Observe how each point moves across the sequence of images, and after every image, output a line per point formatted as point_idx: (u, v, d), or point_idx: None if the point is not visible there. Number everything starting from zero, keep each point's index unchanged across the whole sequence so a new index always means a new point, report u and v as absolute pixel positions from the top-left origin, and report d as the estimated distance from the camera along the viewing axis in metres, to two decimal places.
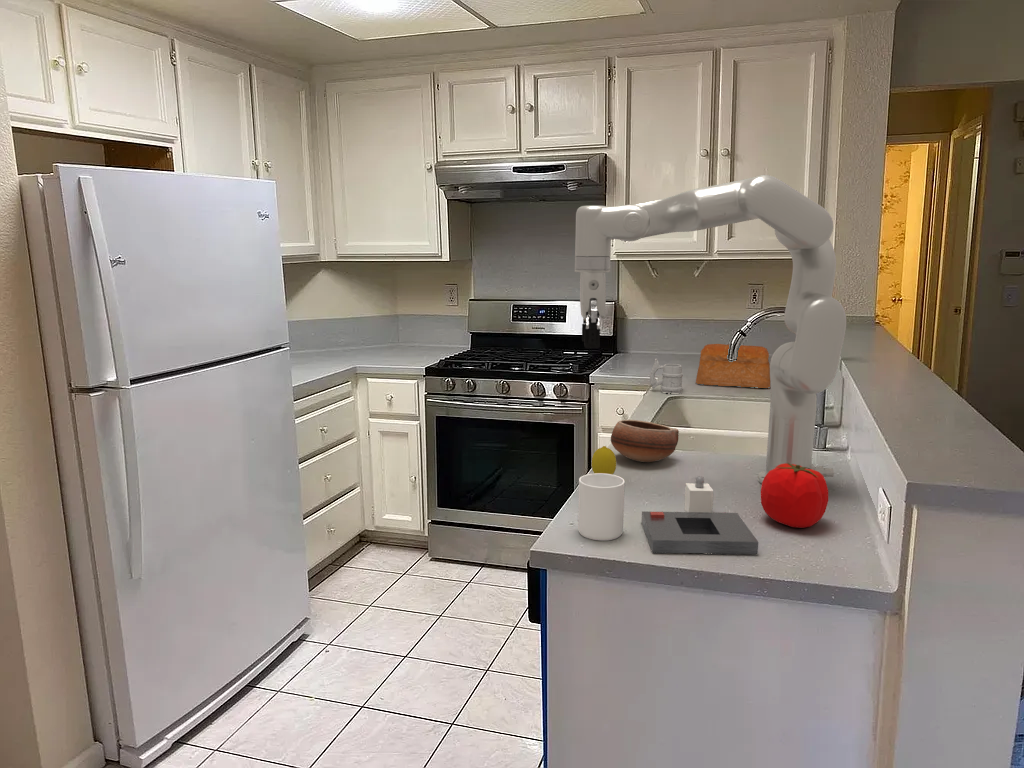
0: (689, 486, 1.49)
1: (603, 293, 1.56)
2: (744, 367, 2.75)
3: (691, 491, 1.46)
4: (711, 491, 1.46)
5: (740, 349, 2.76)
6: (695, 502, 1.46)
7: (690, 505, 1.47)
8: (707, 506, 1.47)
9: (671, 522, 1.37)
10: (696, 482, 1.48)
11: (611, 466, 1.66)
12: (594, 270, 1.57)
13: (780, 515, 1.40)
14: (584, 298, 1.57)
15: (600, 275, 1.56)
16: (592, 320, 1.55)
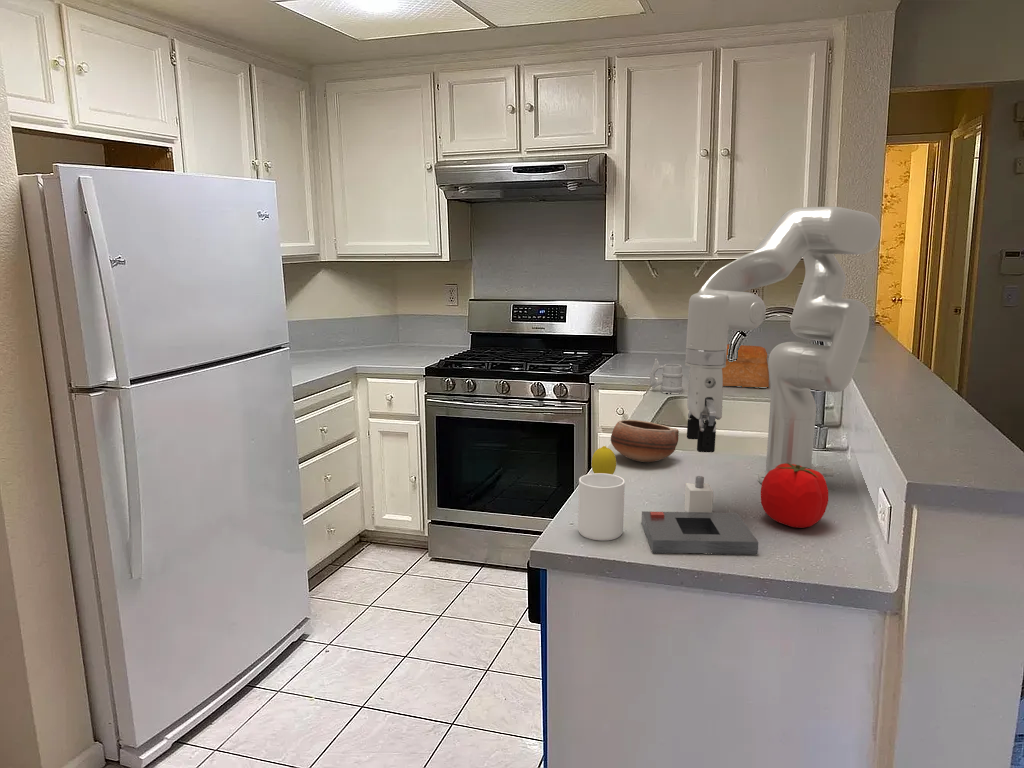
0: (689, 486, 1.49)
1: (720, 392, 1.39)
2: (742, 367, 2.75)
3: (691, 491, 1.46)
4: (711, 491, 1.46)
5: (739, 349, 2.76)
6: (695, 502, 1.46)
7: (690, 505, 1.47)
8: (707, 506, 1.47)
9: (671, 522, 1.37)
10: (696, 482, 1.48)
11: (611, 466, 1.66)
12: (710, 365, 1.40)
13: (780, 515, 1.40)
14: (699, 397, 1.40)
15: (717, 372, 1.39)
16: (709, 423, 1.38)
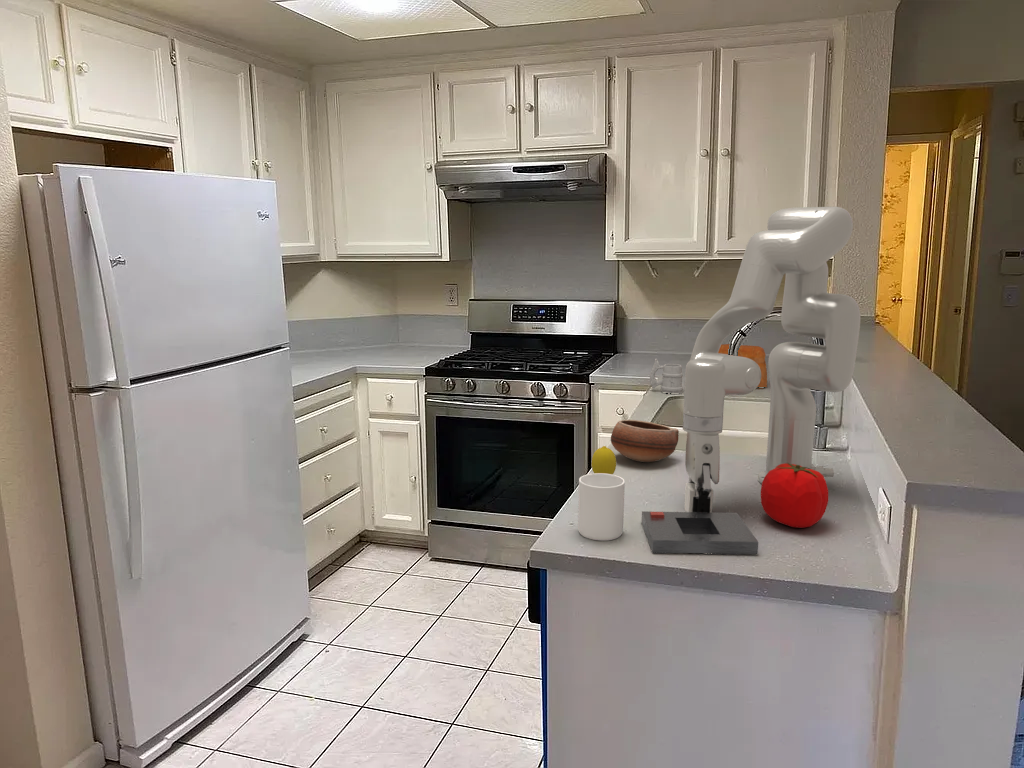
0: (689, 486, 1.48)
1: (717, 458, 1.42)
2: None
3: (691, 491, 1.46)
4: (711, 491, 1.46)
5: None
6: None
7: (690, 505, 1.47)
8: None
9: (671, 522, 1.37)
10: None
11: (611, 466, 1.66)
12: (707, 432, 1.42)
13: (780, 515, 1.40)
14: (696, 463, 1.42)
15: (714, 438, 1.42)
16: None
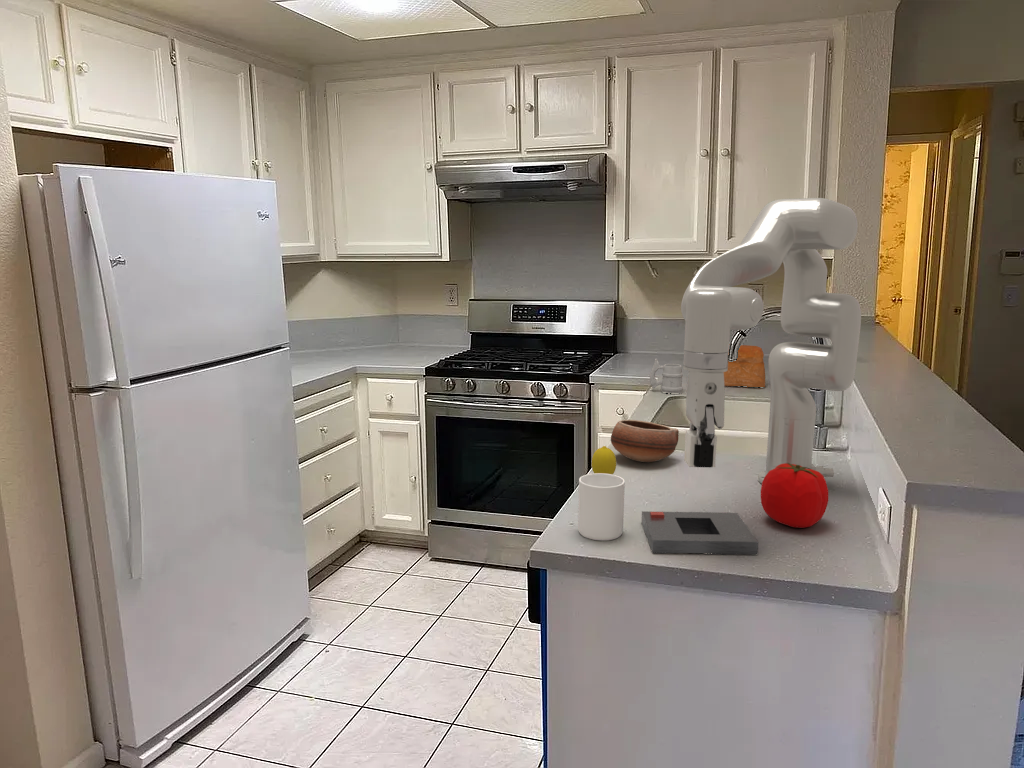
0: (690, 433, 1.33)
1: (722, 398, 1.27)
2: (739, 366, 2.76)
3: (692, 437, 1.31)
4: (714, 437, 1.31)
5: None
6: None
7: (691, 453, 1.31)
8: None
9: (671, 522, 1.37)
10: None
11: (611, 466, 1.66)
12: (710, 369, 1.27)
13: (780, 515, 1.40)
14: (698, 404, 1.27)
15: (719, 376, 1.26)
16: None
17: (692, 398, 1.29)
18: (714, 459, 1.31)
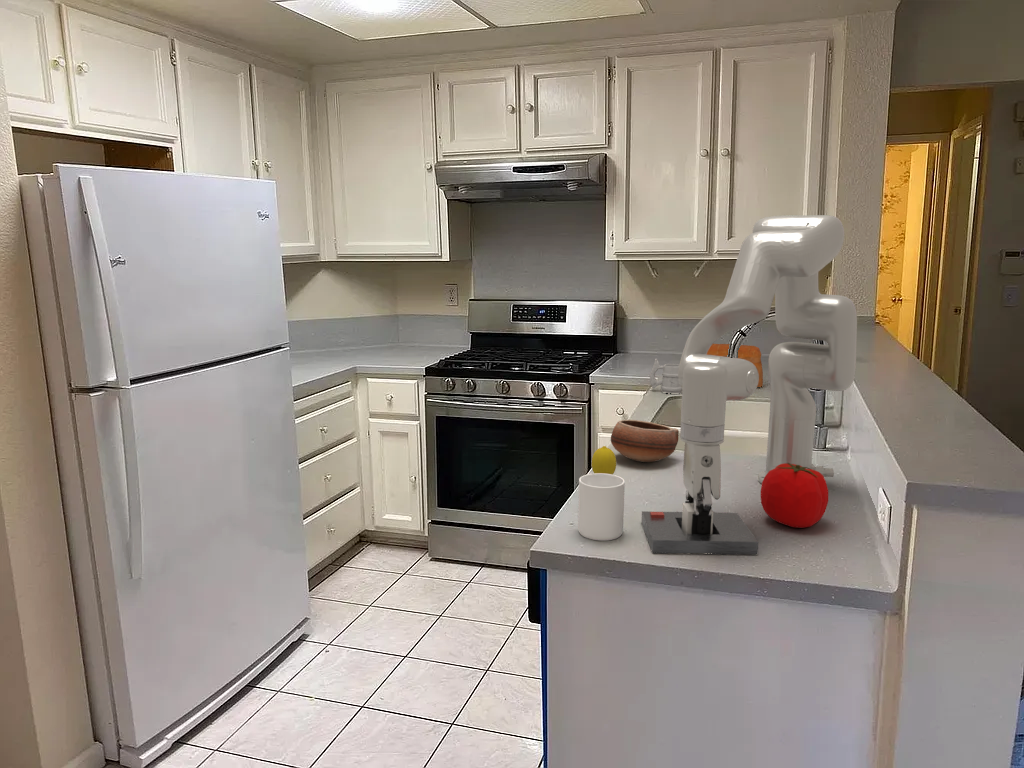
0: (687, 506, 1.36)
1: (718, 471, 1.29)
2: None
3: (689, 512, 1.33)
4: None
5: None
6: None
7: (688, 527, 1.34)
8: None
9: (671, 522, 1.37)
10: None
11: (611, 466, 1.66)
12: (707, 442, 1.29)
13: (780, 515, 1.40)
14: (695, 476, 1.29)
15: (715, 449, 1.29)
16: (704, 508, 1.29)
17: (689, 469, 1.32)
18: (711, 533, 1.34)
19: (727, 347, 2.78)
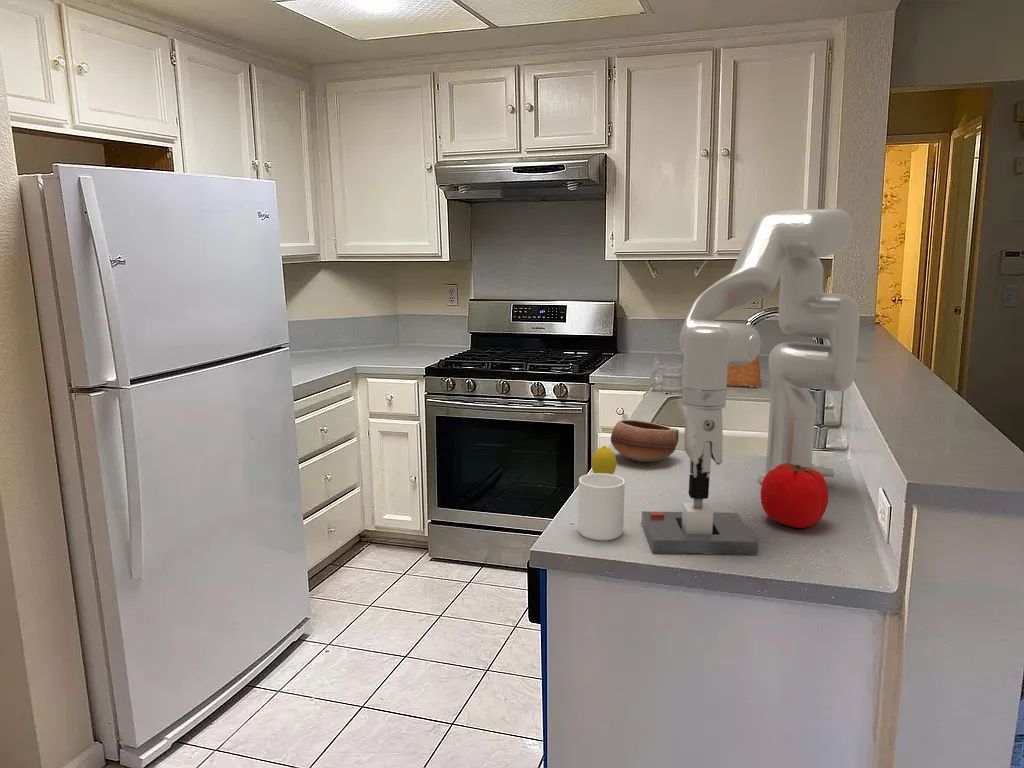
0: (687, 506, 1.36)
1: (720, 435, 1.28)
2: (734, 366, 2.77)
3: (689, 512, 1.33)
4: (711, 512, 1.33)
5: None
6: (693, 524, 1.34)
7: (688, 527, 1.34)
8: (706, 529, 1.34)
9: (671, 522, 1.37)
10: (694, 502, 1.35)
11: (611, 466, 1.66)
12: (708, 406, 1.28)
13: (780, 515, 1.40)
14: (697, 441, 1.28)
15: (717, 413, 1.27)
16: None
17: (690, 434, 1.31)
18: (711, 533, 1.34)
19: None
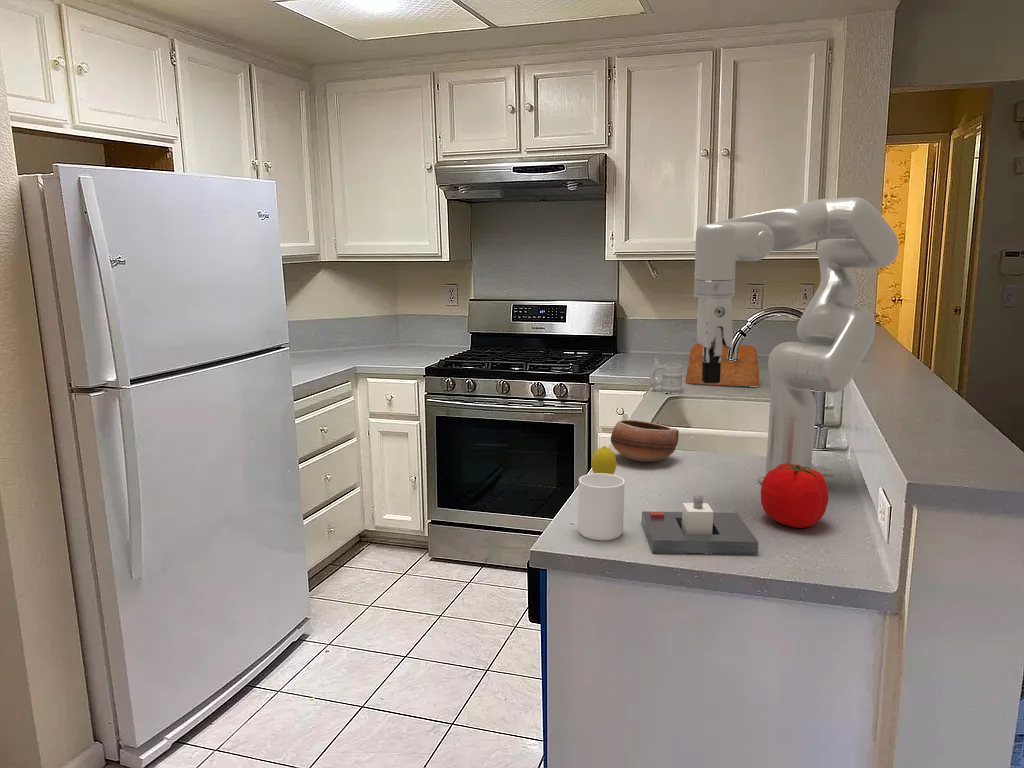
0: (687, 506, 1.36)
1: (730, 321, 1.41)
2: (733, 366, 2.77)
3: (689, 512, 1.33)
4: (711, 512, 1.33)
5: None
6: (693, 524, 1.34)
7: (688, 527, 1.34)
8: (706, 529, 1.34)
9: (671, 522, 1.37)
10: (694, 502, 1.35)
11: (611, 466, 1.66)
12: (719, 295, 1.41)
13: (780, 515, 1.40)
14: (709, 327, 1.41)
15: (727, 301, 1.41)
16: None
17: (703, 322, 1.44)
18: (711, 533, 1.34)
19: (723, 347, 2.79)
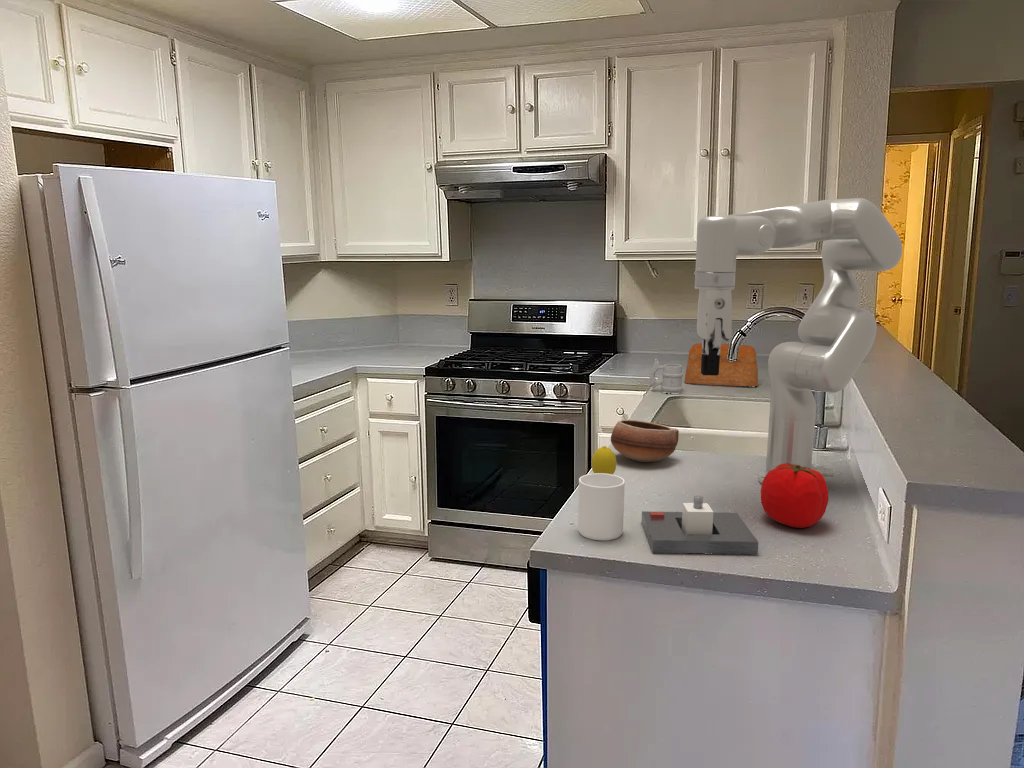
0: (687, 506, 1.36)
1: (730, 313, 1.42)
2: (732, 366, 2.77)
3: (689, 512, 1.33)
4: (711, 512, 1.33)
5: (728, 348, 2.78)
6: (693, 524, 1.34)
7: (688, 527, 1.34)
8: (706, 529, 1.34)
9: (671, 522, 1.37)
10: (694, 502, 1.35)
11: (611, 466, 1.66)
12: (719, 287, 1.42)
13: (780, 515, 1.40)
14: (708, 318, 1.42)
15: (727, 293, 1.41)
16: None
17: (703, 314, 1.45)
18: (711, 533, 1.34)
19: (722, 347, 2.79)
